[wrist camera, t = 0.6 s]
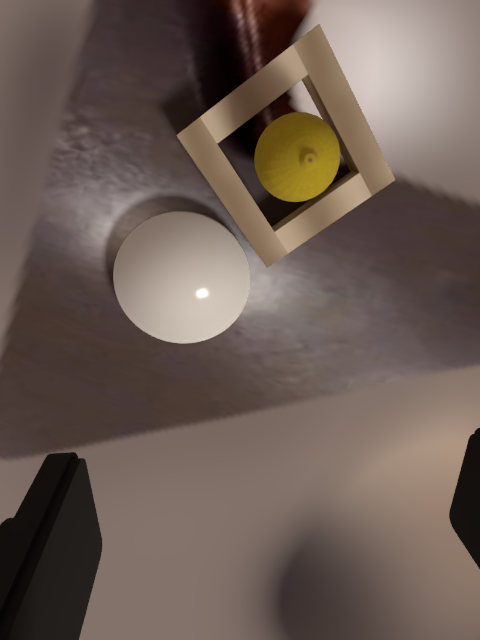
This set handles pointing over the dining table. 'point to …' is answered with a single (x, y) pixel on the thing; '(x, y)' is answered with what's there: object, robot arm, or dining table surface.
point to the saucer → (181, 277)
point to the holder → (336, 110)
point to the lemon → (297, 157)
